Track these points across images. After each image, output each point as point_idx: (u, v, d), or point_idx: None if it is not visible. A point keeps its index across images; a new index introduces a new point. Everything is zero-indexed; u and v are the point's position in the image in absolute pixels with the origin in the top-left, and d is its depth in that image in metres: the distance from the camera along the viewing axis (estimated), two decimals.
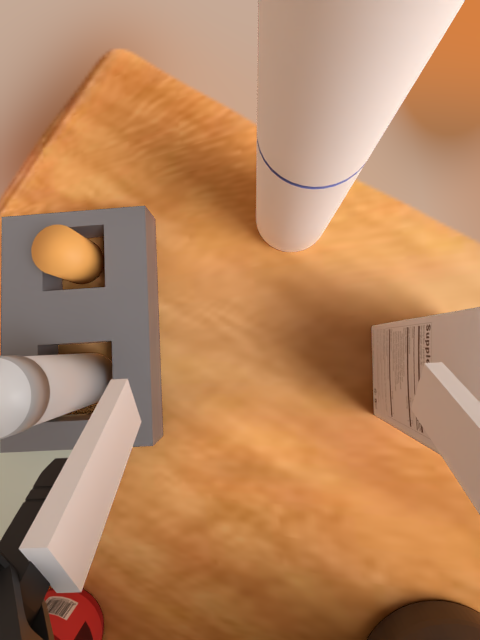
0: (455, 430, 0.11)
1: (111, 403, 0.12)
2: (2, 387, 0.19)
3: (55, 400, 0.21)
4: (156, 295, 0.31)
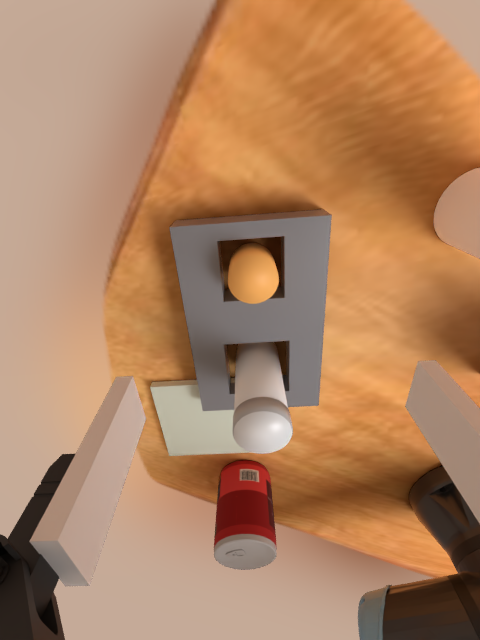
0: (447, 427, 0.11)
1: (117, 400, 0.12)
2: (271, 428, 0.26)
3: None
4: None
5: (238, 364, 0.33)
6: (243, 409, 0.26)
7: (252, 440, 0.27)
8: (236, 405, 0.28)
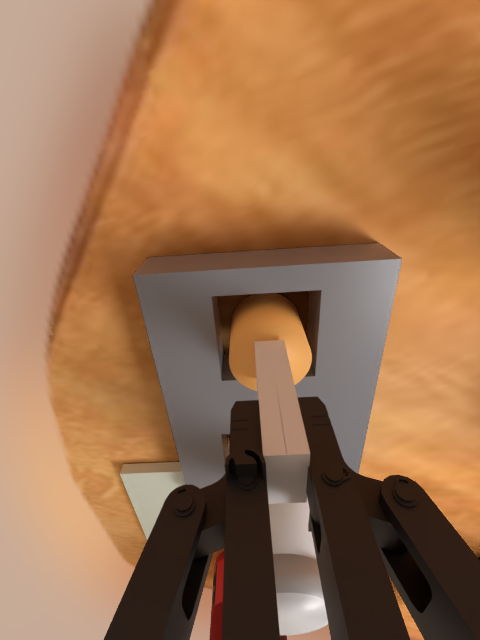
0: None
1: (268, 358, 0.14)
2: (300, 612, 0.16)
3: None
4: None
5: None
6: None
7: None
8: None
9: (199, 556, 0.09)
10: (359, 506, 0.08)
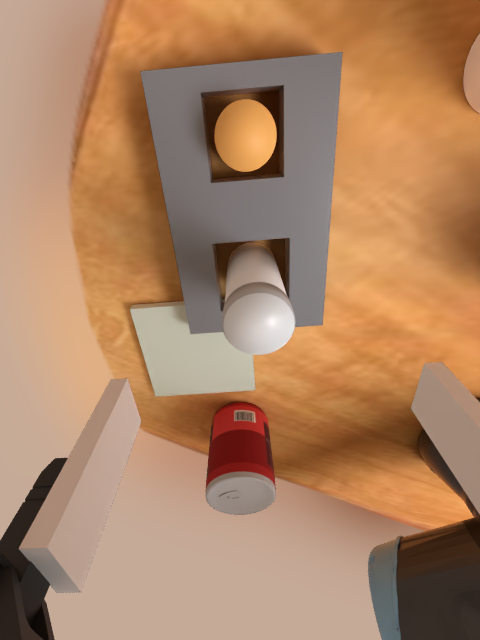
0: (455, 430, 0.11)
1: (112, 403, 0.12)
2: (270, 317, 0.21)
3: None
4: None
5: (230, 267, 0.28)
6: (235, 296, 0.21)
7: (246, 335, 0.22)
8: (227, 298, 0.23)
9: None
10: None
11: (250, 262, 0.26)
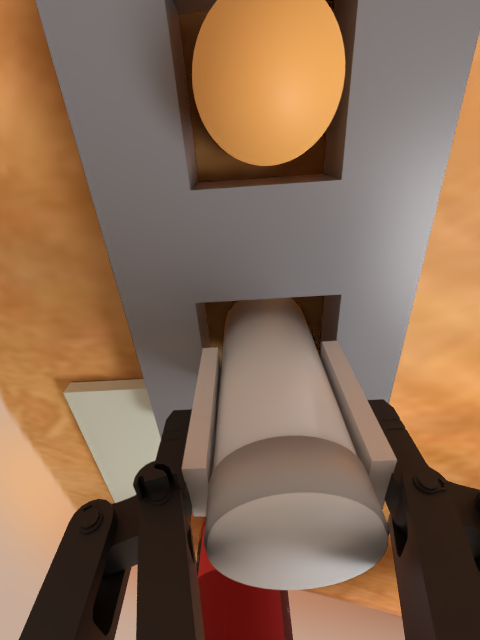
0: None
1: (212, 366, 0.14)
2: (326, 538, 0.08)
3: None
4: None
5: (227, 347, 0.15)
6: (237, 477, 0.08)
7: (264, 564, 0.09)
8: (218, 454, 0.10)
9: (115, 569, 0.09)
10: (455, 520, 0.08)
11: (268, 350, 0.13)
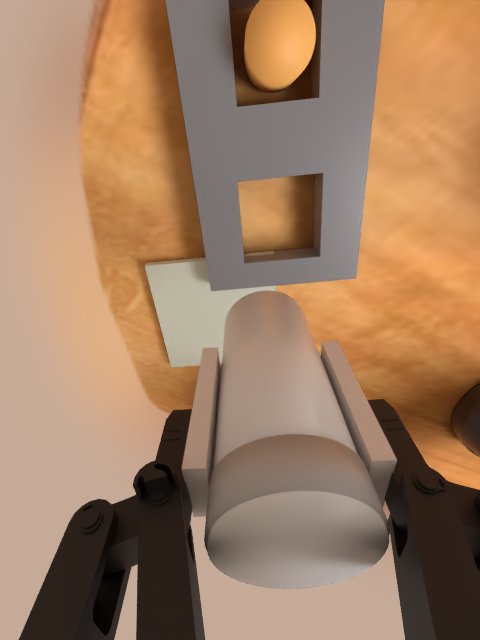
0: None
1: (212, 366, 0.14)
2: (327, 537, 0.08)
3: None
4: None
5: (228, 346, 0.15)
6: (237, 476, 0.08)
7: (264, 563, 0.09)
8: (219, 452, 0.10)
9: (116, 569, 0.09)
10: (455, 520, 0.08)
11: (269, 349, 0.13)
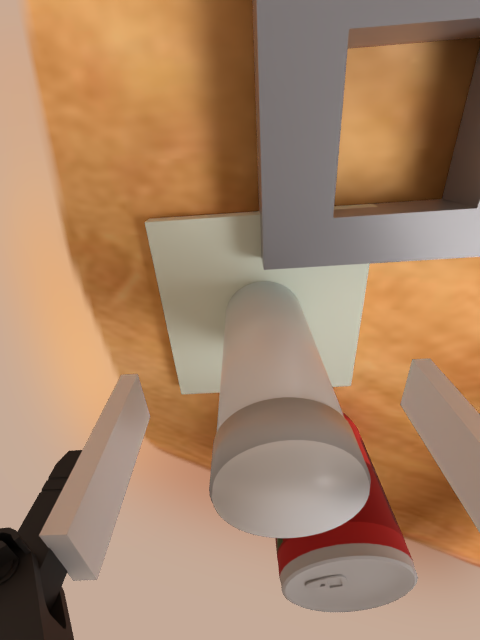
0: (441, 424, 0.12)
1: (123, 397, 0.12)
2: (316, 484, 0.09)
3: None
4: None
5: (229, 330, 0.16)
6: (238, 432, 0.10)
7: (262, 511, 0.10)
8: (221, 418, 0.11)
9: None
10: None
11: (266, 330, 0.14)
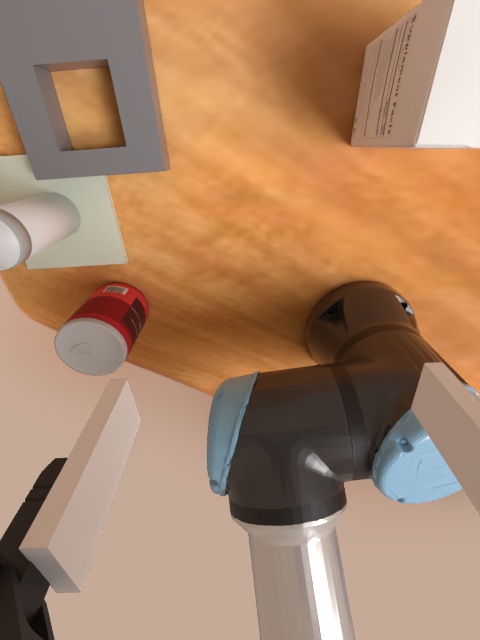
0: (455, 430, 0.11)
1: (112, 403, 0.12)
2: None
3: (36, 240, 0.29)
4: (142, 0, 0.28)
5: None
6: None
7: None
8: None
9: None
10: None
11: None
